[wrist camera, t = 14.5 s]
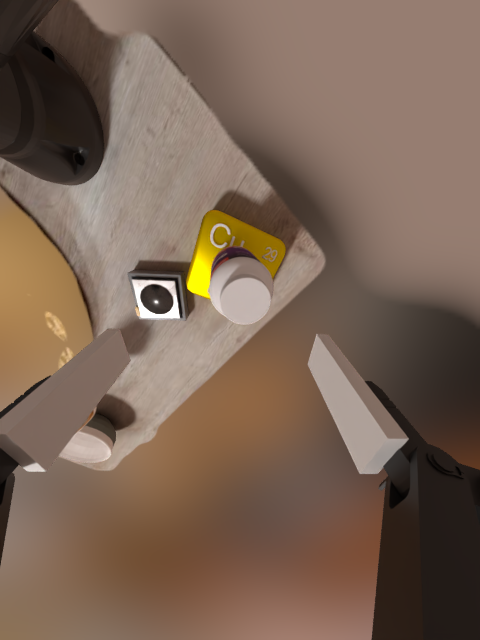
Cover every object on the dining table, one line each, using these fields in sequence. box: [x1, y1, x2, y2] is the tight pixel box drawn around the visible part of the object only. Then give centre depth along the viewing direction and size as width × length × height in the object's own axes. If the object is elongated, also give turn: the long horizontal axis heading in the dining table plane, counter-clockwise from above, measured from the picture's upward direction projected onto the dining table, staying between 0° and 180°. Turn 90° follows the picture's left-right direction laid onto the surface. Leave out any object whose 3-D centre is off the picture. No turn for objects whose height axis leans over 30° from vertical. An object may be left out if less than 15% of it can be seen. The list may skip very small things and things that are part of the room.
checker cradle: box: [128, 270, 189, 321], centre depth 37 cm, size 10×10×3 cm
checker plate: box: [132, 277, 182, 318], centre depth 37 cm, size 8×8×2 cm
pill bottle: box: [209, 246, 274, 324], centre depth 25 cm, size 8×8×14 cm
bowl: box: [59, 414, 116, 463], centre depth 57 cm, size 19×19×8 cm
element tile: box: [186, 210, 286, 300], centre depth 34 cm, size 15×15×5 cm
